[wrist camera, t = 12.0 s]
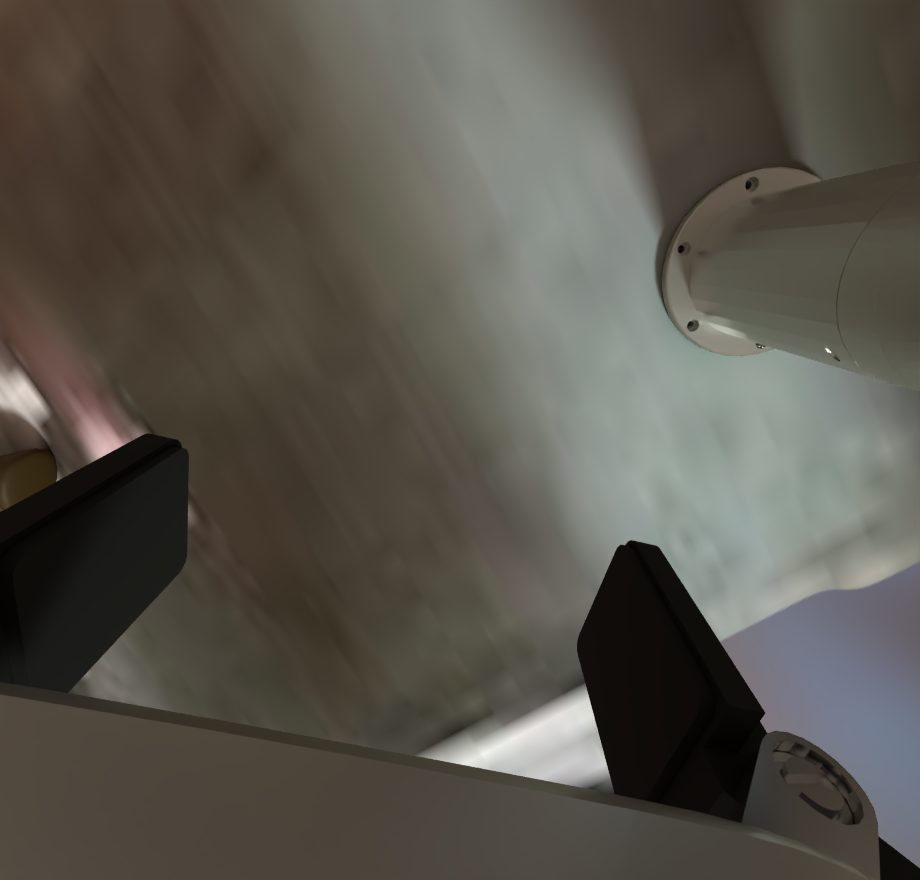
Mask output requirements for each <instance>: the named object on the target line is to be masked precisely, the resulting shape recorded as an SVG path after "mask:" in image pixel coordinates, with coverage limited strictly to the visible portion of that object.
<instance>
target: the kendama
mask: <svg viewBox="0 0 920 880" xmlns="http://www.w3.org/2000/svg"><path fill="white" fill-rule="evenodd" d="M56 480H57V465H56V461H55V457H54V456H53V455H52V454H51V453H50V452H49V451H47V450H44V449H29V450H25V451H21V452H17V453H14V454H9V455H4V456H0V507H1V508H2V509H4V510H5V509H7V508H9V507H10V506H12V505H14V504H16V503H18V502H20V501H22V500H23V499H25V498H27V497H29V496H31V495H33V494H35V493H36V492H38V491H40V490H42V489H44V488H46V487H48V486H49V485H51V484H53V483H55V482H56Z"/></svg>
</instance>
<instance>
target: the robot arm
mask: <svg viewBox="0 0 920 880" xmlns="http://www.w3.org/2000/svg"><path fill="white" fill-rule="evenodd" d="M746 182H747V183H748V188H747V189H746V187H745V185H746ZM679 246H682V251H681V252H680V253H678V247H679ZM662 290H663V298H664V303H665V306H666V309H667V312H668V315H669V317H670V319H671V320H672V322H673V323H674V325H675V327H676V328H677V330H678V331H679V332H680V333H681V334H682V335H683V336H684V337H685V338H686V339H688V340H689V341H691V342H692V343H694V344H695V345H697V346H698V347H701V348H703V349H706V350H708V351H710V352H714V353H718V354H722V355H726V356H747V355H754V354H759V353H762V352H766V351H769V350H772V349H778V350H782V351H785V352H788V353H792V354H795V355H798V356H802V357H805V358H808V359H812V360H815V361H818V362H821V363H825V364H828V365H831V366H835V367H838V368H841V369H845V370H848V371H851V372H855V373H858V374H861V375H864V376H868V377H871V378H874V379H878V380H881V381H884V382H888V383H891V384H895V385H899V386H902V387H906V388H909V389H913V390H917V391H920V160H916V161H912V162H907V163H902V164H898V165H893V166H889V167H884V168H879V169H875V170H870V171H866V172H861V173H856V174H852V175H847V176H843V177H838V178H833V179H829V180H824V181H822V180H821V179H820V178H818V177H817V176H815V175H813V174H810V173H808V172H805V171H803V170H800V169H794V168H788V167H772V168H763V169H759V170H755V171H751V172H748V173H745V174H742V175H739V176H737V177H734V178H731V179H729V180H728V181H726V182H724V183H723V184H721V185H719V186H717V187H716V188H714V189H713V190H711V191H710V192H709V193H708V194H707V195H705V196H704V197H703V198H702V199H701V200H699V201H698V202H697V203H696V205H695V206H694V207H693V208H692V209H691V210H690V211H689V213H688V214H687V215H686V216H685V217H684V219H683V221H682V222H681V224H680V225H679V227H678V229H677V230H676V232H675V233H674V236H673V238H672V240H671V243H670V245H669V247H668V250H667V253H666V257H665V262H664V266H663V275H662ZM689 321H690V322H691V325H690V326H689V327H687V324H688V323H689ZM188 471H189V455H188V451H187V450H186V449H184V448H182V446H181V443H180V442H179V441H178V440H176V439H171V438H167V437H162V436H158V435H153V434H144V435H142V436H140V437H138V438H137V439H135V440H133V441H131V442H129V443H127V444H125V445H124V446H122V447H120V448H118V449H116V450H114V451H112V452H111V453H109V454H107V455H105V456H103V457H101V458H99V459H98V460H96V461H94V462H92V463H90V464H88V465H86V466H85V467H83V468H81V469H79V470H77V471H75V472H74V473H72V474H70V475H68V476H66V477H64V478H62V479H61V480H59V481H57V482H55V483H53V484H51V485H49V486H48V487H46V488H44V489H42V490H40V491H38V492H36V493H35V494H33V495H31V496H29V497H27V498H25V499H23V500H22V501H20V502H18V503H16V504H14V505H12V506H10V507H9V508H7V509H5V510H3V511H1V512H0V880H920V868H919V867H917V866H916V865H915V864H913V863H912V862H911V861H910V860H908V859H907V858H906V857H904V856H903V855H902V854H900V853H899V852H898V851H897V850H895V849H894V848H893V847H891V846H890V845H889V844H887V843H886V842H885V841H884V840H882V839H881V838H880V837H878V822H877V819H876V814H875V811H874V808H873V806H872V804H871V803H870V801H869V799H868V797H867V795H866V793H865V792H864V791H863V789H862V788H861V787H860V785H859V784H858V783H857V782H856V781H855V779H854V778H853V777H852V775H850V774H849V773H848V772H847V771H846V770H845V769H844V768H843V767H842V766H841V765H840V764H839V763H838V762H837V761H836V760H835V759H833V758H832V757H831V756H829V755H828V754H827V753H826V752H824V751H823V750H822V749H820V748H819V747H817V746H816V745H814V744H812V743H810V742H809V741H807V740H805V739H803V738H801V737H799V736H796V735H793V734H791V733H788V732H780V731H774V732H771V733H768V734H767V732H766V730H765V729H764V727H763V726H762V724H761V722H760V720H761V718H762V717H763V716H764V714H765V712H764V710H763V709H762V707H761V706H760V704H759V702H758V701H757V699H756V698H755V696H754V695H753V693H752V691H751V690H750V688H749V687H748V685H747V684H746V682H745V680H744V679H743V677H742V676H741V675H740V673H739V671H738V670H737V668H736V666H735V665H734V663H733V662H732V660H731V659H730V657H729V656H728V654H727V653H726V651H725V649H724V648H723V646H722V645H721V643H720V642H719V640H718V638H717V637H716V635H715V634H714V632H713V631H712V629H711V628H710V626H709V624H708V623H707V621H706V620H705V618H704V617H703V615H702V614H701V612H700V610H699V609H698V607H697V606H696V604H695V603H694V601H693V599H692V598H691V596H690V595H689V593H688V592H687V590H686V589H685V587H684V585H683V584H682V582H681V581H680V579H679V578H678V576H677V575H676V573H675V571H674V570H673V568H672V567H671V565H670V564H669V562H668V561H667V559H666V557H665V556H664V554H663V553H662V551H661V550H660V548H659V547H658V546H655V545H651V544H646V543H642V542H637V541H632V540H631V541H628V542H627V543H626V545H620V546H619V547H618V548H617V550H616V551H615V554H614V556H613V558H612V561H611V563H610V565H609V568H608V570H607V572H606V574H605V577H604V579H603V581H602V584H601V586H600V588H599V591H598V593H597V595H596V597H595V600H594V602H593V604H592V607H591V609H590V611H589V613H588V616H587V618H586V620H585V623H584V625H583V627H582V630H581V632H580V634H579V637H578V642H577V652H578V657H579V660H580V664H581V668H582V672H583V676H584V679H585V683H586V687H587V691H588V694H589V698H590V702H591V706H592V710H593V713H594V717H595V721H596V725H597V728H598V732H599V736H600V740H601V744H602V747H603V751H604V755H605V759H606V762H607V766H608V770H609V774H610V777H611V781H612V785H613V789H614V793H615V794H611V793H606V792H601V791H596V790H591V789H585V788H580V787H575V786H570V785H564V784H559V783H554V782H549V781H544V780H538V779H533V778H528V777H523V776H517V775H512V774H507V773H502V772H496V771H491V770H486V769H481V768H475V767H470V766H465V765H460V764H455V763H449V762H444V761H439V760H433V759H428V758H423V757H417V756H412V755H406V754H401V753H396V752H390V751H385V750H379V749H374V748H369V747H363V746H358V745H353V744H347V743H342V742H336V741H331V740H325V739H320V738H315V737H309V736H304V735H298V734H293V733H287V732H282V731H276V730H271V729H266V728H260V727H255V726H249V725H244V724H238V723H233V722H227V721H221V720H216V719H210V718H205V717H199V716H193V715H188V714H182V713H177V712H171V711H165V710H160V709H154V708H149V707H143V706H137V705H132V704H126V703H121V702H115V701H109V700H104V699H98V698H93V697H87V696H81V695H76V694H70V693H68V692H69V691H70V690H71V689H72V688H73V687H74V686H75V685H76V683H77V682H78V681H79V680H80V679H81V678H82V677H83V676H84V675H85V674H86V673H87V672H88V671H89V669H90V668H91V667H92V666H93V665H94V664H95V663H96V662H97V661H98V660H99V659H100V658H101V657H102V655H103V654H104V653H105V652H106V651H107V650H108V649H109V648H110V647H111V646H112V645H113V644H114V643H115V641H116V640H117V639H118V638H119V637H120V636H121V635H122V634H123V633H124V632H125V631H126V630H127V629H128V628H129V626H130V625H131V624H132V623H133V622H134V621H135V620H136V619H137V618H138V617H139V616H140V615H141V614H142V612H143V611H144V610H145V609H146V608H147V607H148V606H149V605H150V604H151V603H152V602H153V601H154V600H155V598H156V597H157V596H158V595H159V594H160V593H161V592H162V591H163V590H164V589H165V588H166V587H167V586H168V584H169V583H170V582H171V581H172V580H173V579H174V578H175V577H176V576H177V575H178V574H179V572H180V571H181V570H182V568H183V566H184V564H185V562H186V558H187V529H188Z"/></svg>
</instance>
